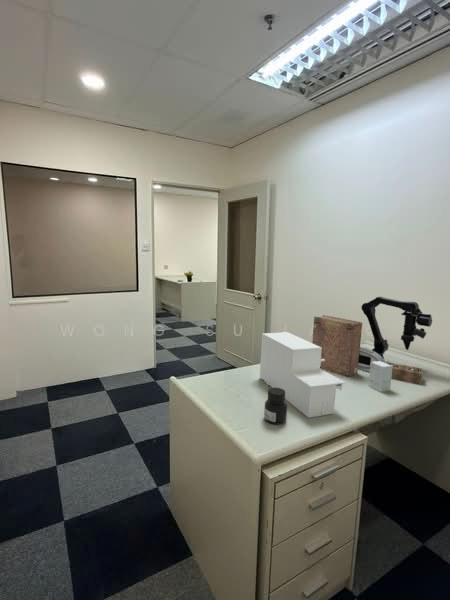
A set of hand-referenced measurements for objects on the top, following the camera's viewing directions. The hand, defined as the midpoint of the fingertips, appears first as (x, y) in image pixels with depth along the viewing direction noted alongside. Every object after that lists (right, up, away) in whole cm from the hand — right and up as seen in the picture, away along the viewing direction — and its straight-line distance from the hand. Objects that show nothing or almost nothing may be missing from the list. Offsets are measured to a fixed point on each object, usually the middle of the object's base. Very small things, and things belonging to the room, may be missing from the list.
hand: (407, 349), depth 187 cm
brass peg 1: (-12, -13, -7) cm, 20 cm away
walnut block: (-8, -14, -10) cm, 19 cm away
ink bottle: (-87, -19, -59) cm, 107 cm away
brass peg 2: (-4, -14, -12) cm, 20 cm away
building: (-72, -16, -34) cm, 82 cm away
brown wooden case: (-43, -12, +2) cm, 44 cm away
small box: (-28, -16, -25) cm, 41 cm away
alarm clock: (-25, -12, +4) cm, 28 cm away
